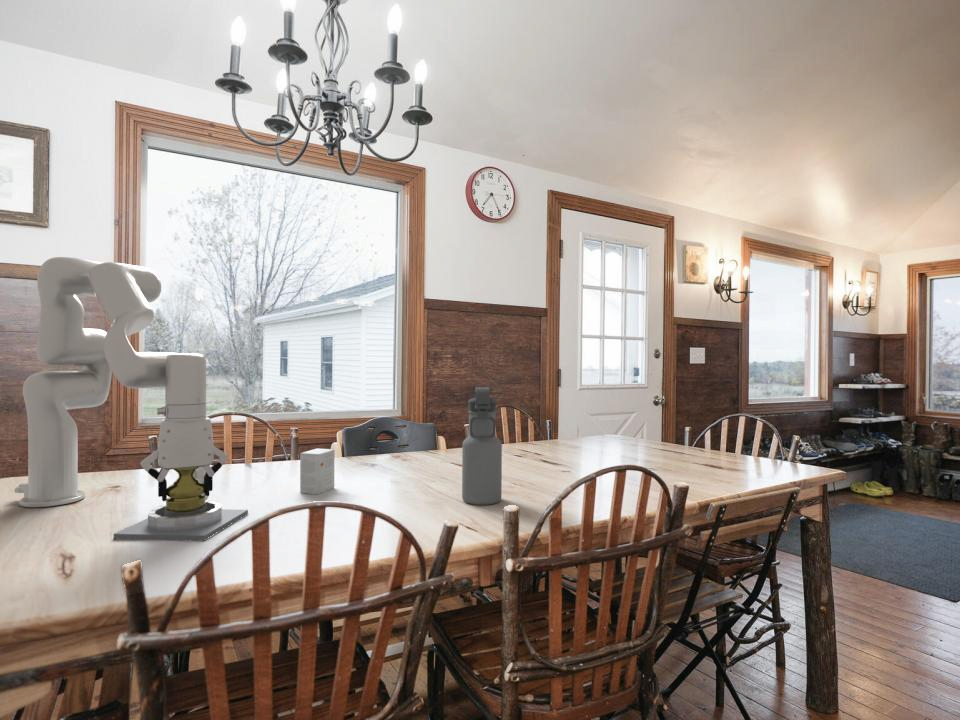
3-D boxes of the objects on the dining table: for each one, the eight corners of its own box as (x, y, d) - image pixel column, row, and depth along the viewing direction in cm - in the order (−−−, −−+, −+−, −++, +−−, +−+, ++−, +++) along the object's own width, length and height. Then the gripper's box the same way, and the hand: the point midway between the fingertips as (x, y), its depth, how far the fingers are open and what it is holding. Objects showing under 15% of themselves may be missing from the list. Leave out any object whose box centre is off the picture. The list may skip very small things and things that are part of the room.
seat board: (113, 539, 107) (113, 533, 107) (169, 512, 125) (169, 508, 125) (204, 540, 106) (204, 535, 106) (247, 514, 124) (247, 509, 124)
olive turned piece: (207, 502, 120) (207, 456, 120) (203, 511, 113) (203, 462, 113) (168, 505, 118) (169, 458, 117) (162, 514, 111) (162, 464, 111)
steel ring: (133, 530, 109) (133, 517, 109) (173, 511, 122) (173, 500, 122) (199, 531, 108) (199, 518, 108) (232, 512, 122) (232, 501, 122)
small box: (316, 486, 151) (317, 448, 151) (334, 487, 150) (335, 449, 150) (299, 493, 144) (299, 452, 144) (318, 494, 142) (318, 453, 142)
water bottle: (502, 506, 132) (503, 389, 132) (461, 506, 132) (462, 389, 131) (500, 495, 142) (501, 386, 142) (462, 495, 142) (462, 386, 142)
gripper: (137, 416, 108) (137, 507, 108) (234, 411, 117) (233, 495, 117) (136, 413, 114) (136, 498, 114) (228, 409, 123) (228, 488, 123)
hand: (185, 496), depth 115 cm, fingers closed on olive turned piece, 7 cm apart
